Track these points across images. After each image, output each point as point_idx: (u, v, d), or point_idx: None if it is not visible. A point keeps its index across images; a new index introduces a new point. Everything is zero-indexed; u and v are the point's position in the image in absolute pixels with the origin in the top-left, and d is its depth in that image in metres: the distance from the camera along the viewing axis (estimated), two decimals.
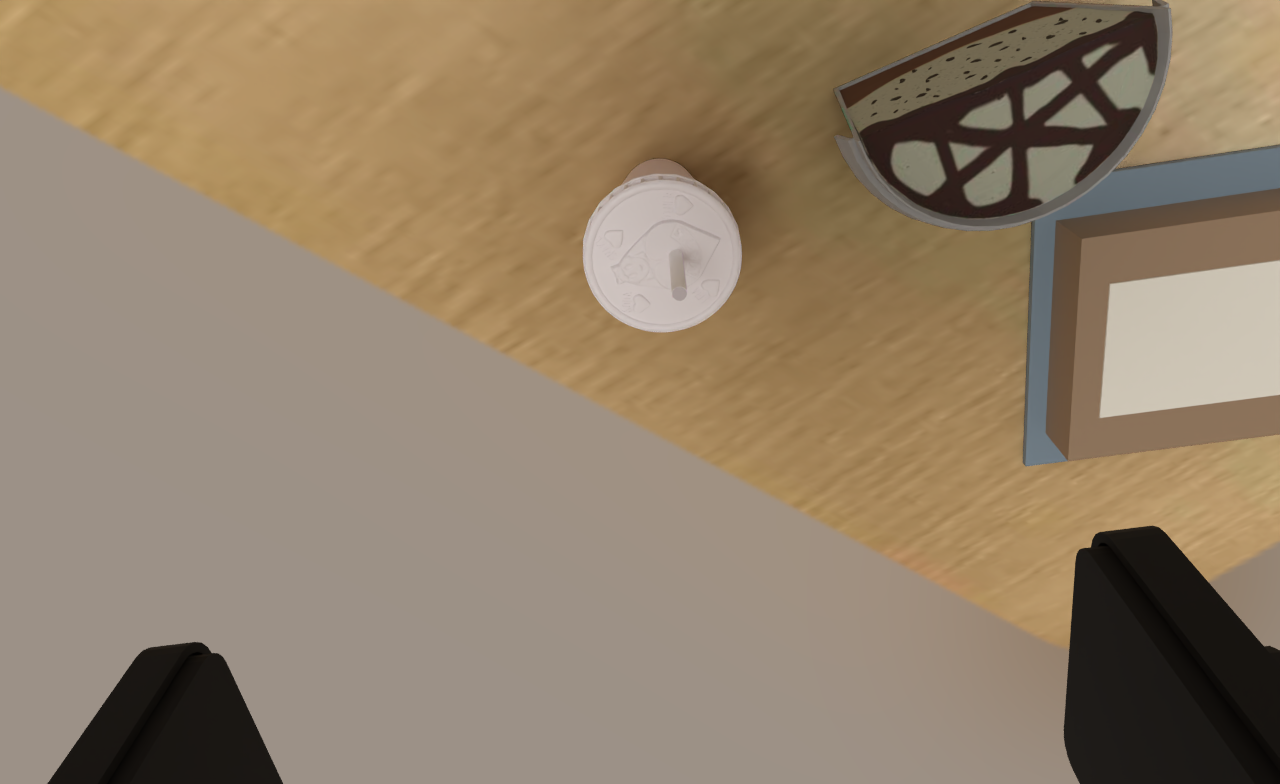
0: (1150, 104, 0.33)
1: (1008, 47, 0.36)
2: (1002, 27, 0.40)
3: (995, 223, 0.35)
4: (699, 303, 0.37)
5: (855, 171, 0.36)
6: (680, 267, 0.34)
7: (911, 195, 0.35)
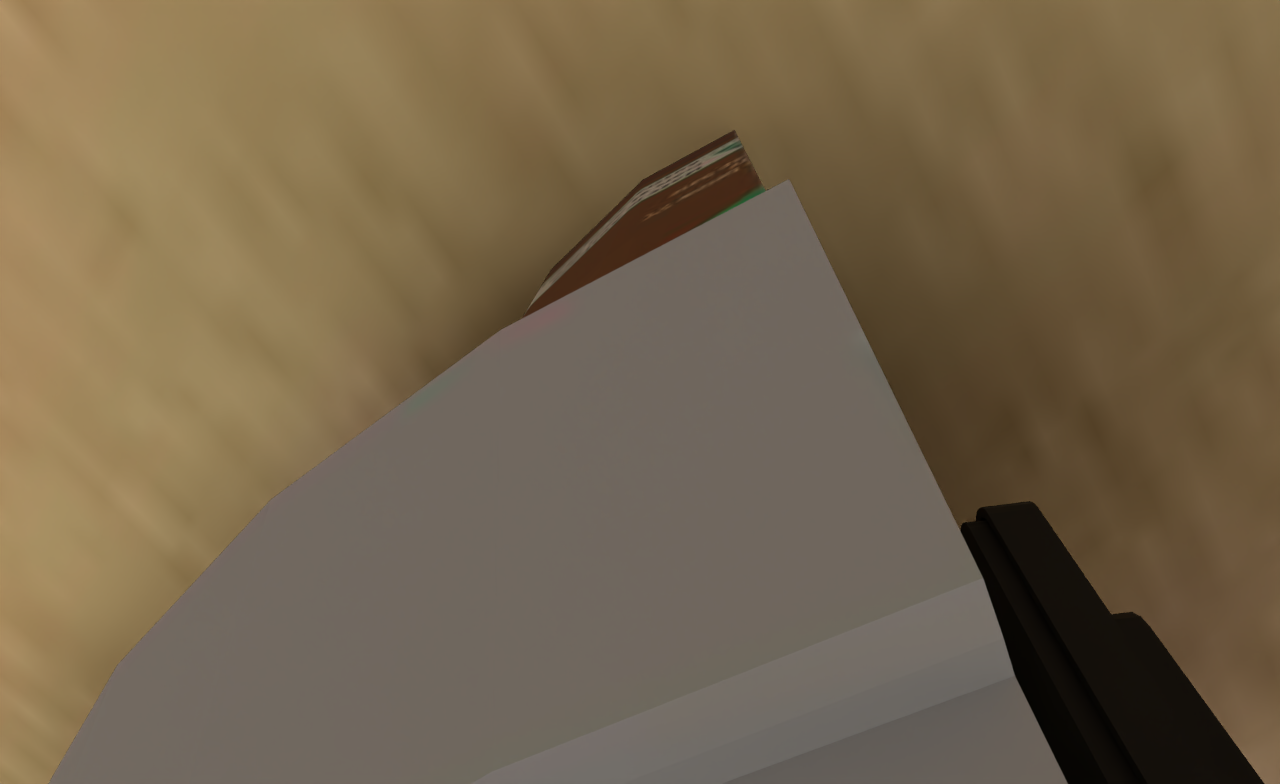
0: None
1: None
2: None
3: None
4: None
5: (325, 533, 0.03)
6: None
7: None
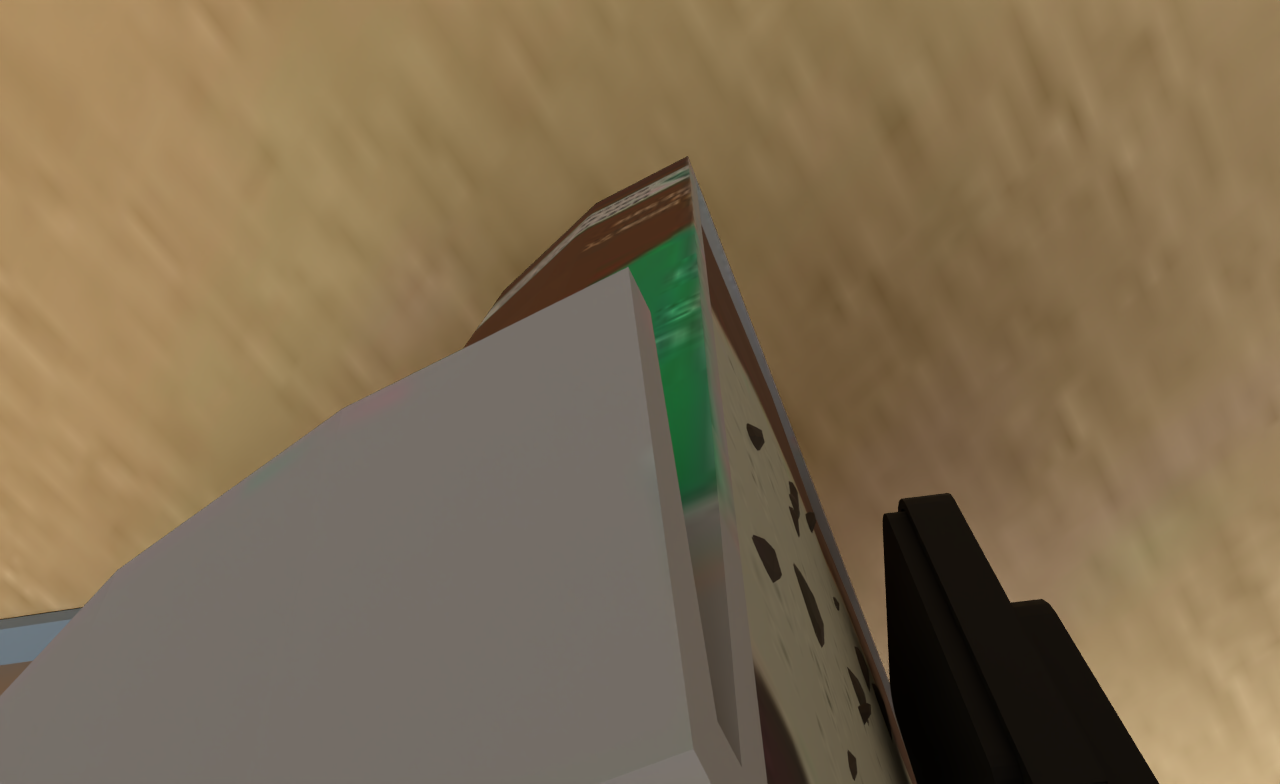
0: None
1: None
2: (896, 735, 0.11)
3: None
4: None
5: (152, 617, 0.02)
6: None
7: None
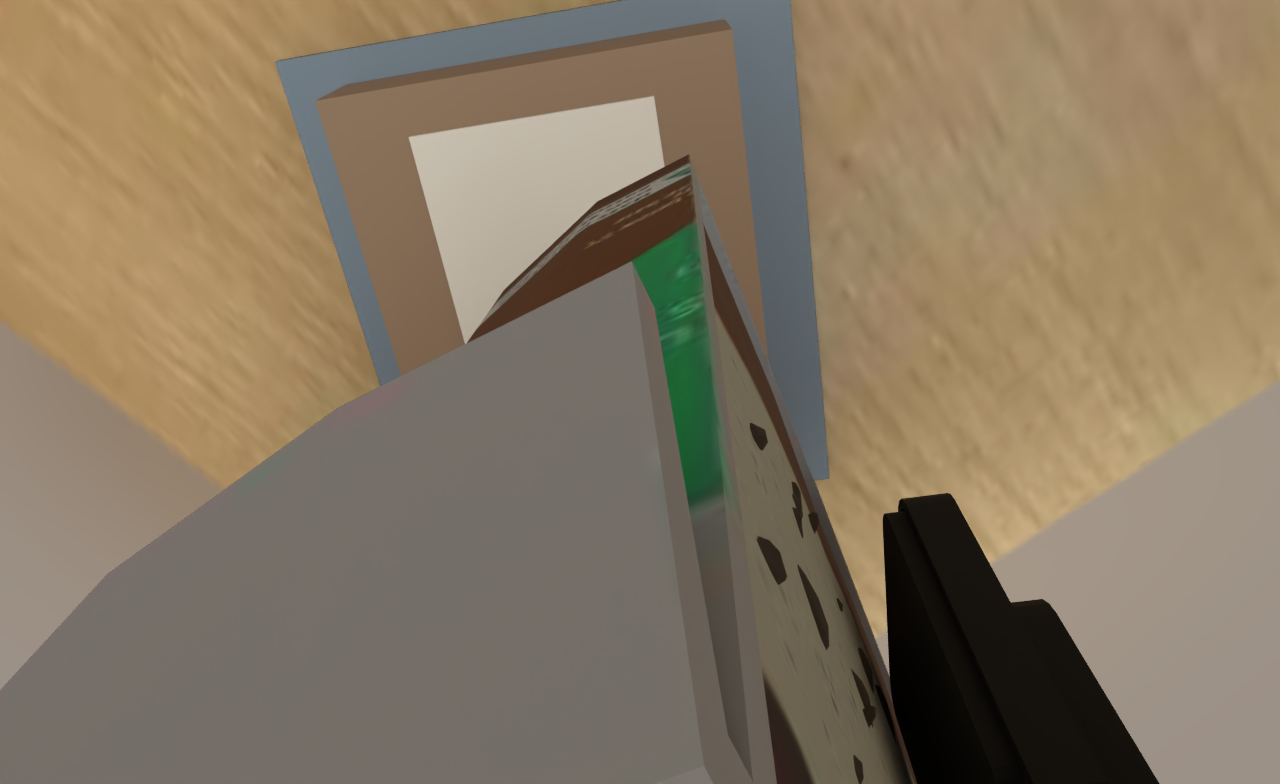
0: None
1: None
2: (899, 736, 0.11)
3: None
4: None
5: (141, 623, 0.02)
6: None
7: None
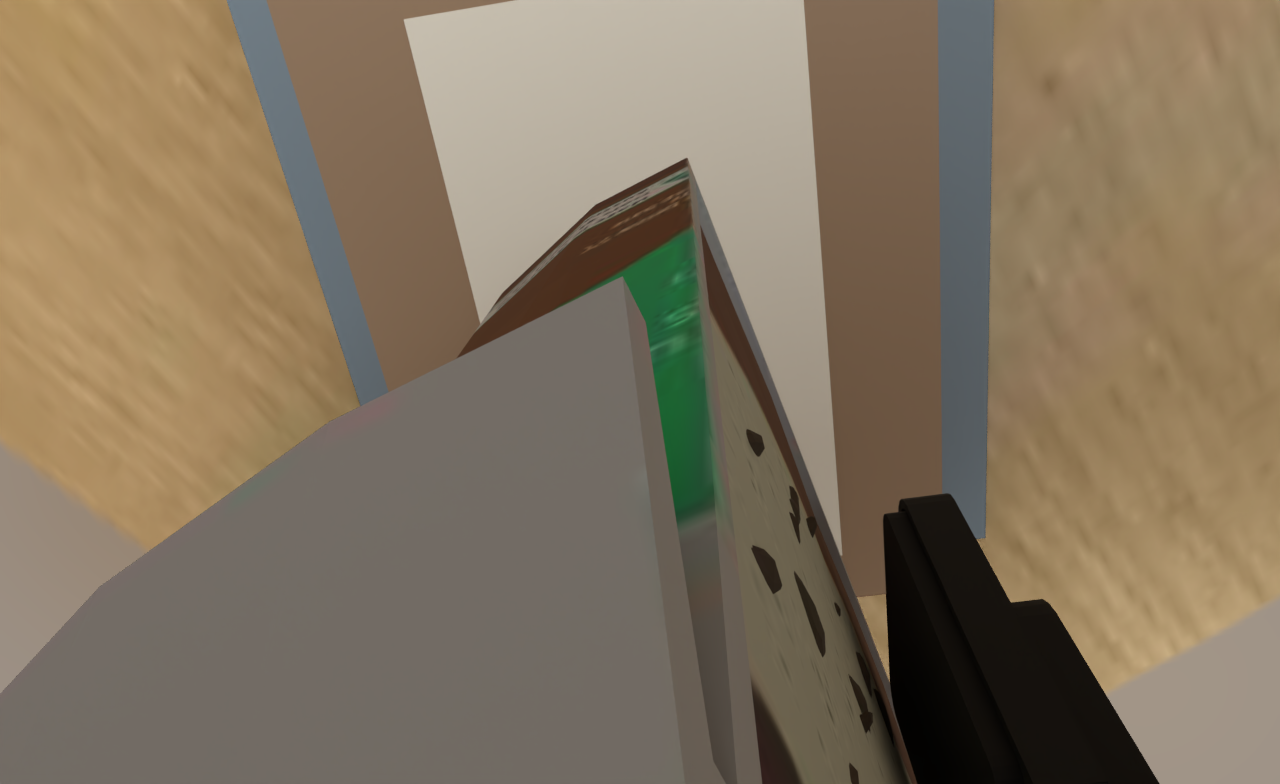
0: None
1: None
2: (897, 740, 0.11)
3: None
4: None
5: (130, 639, 0.02)
6: None
7: None
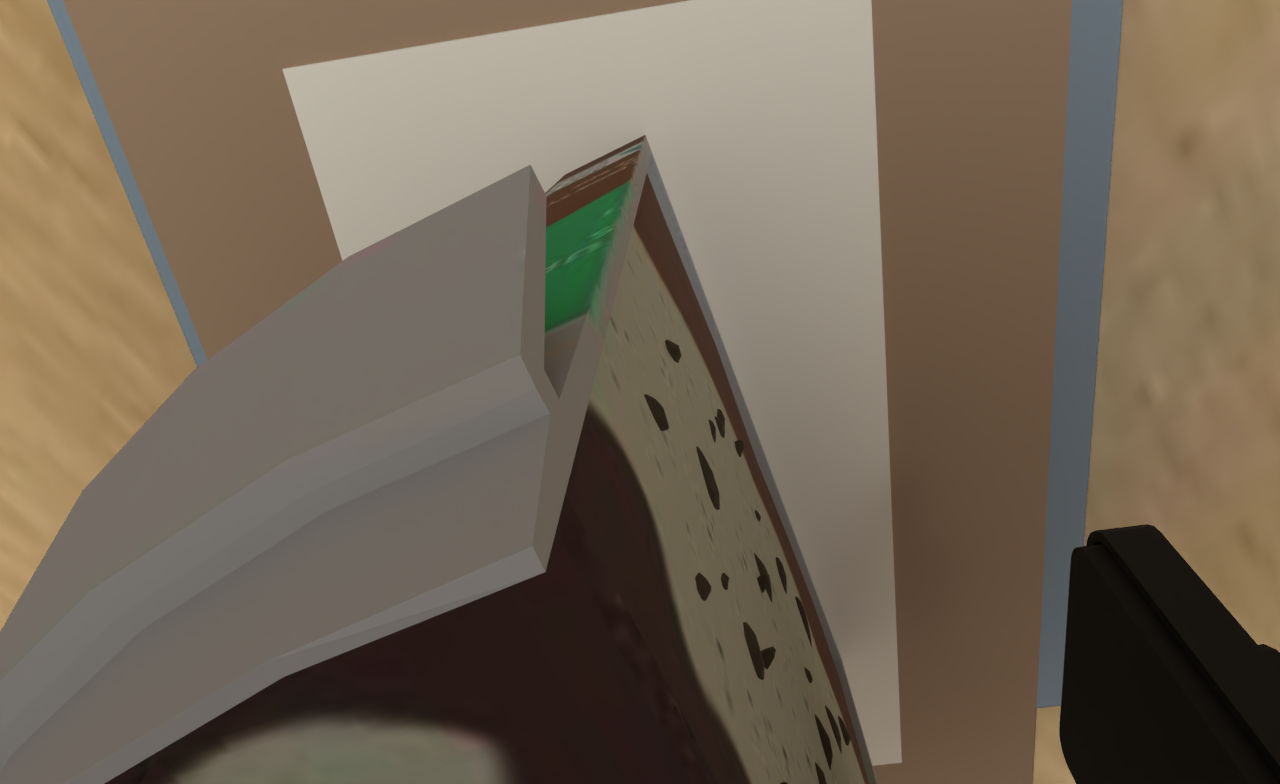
0: None
1: None
2: (823, 653, 0.13)
3: None
4: None
5: (224, 380, 0.04)
6: None
7: None
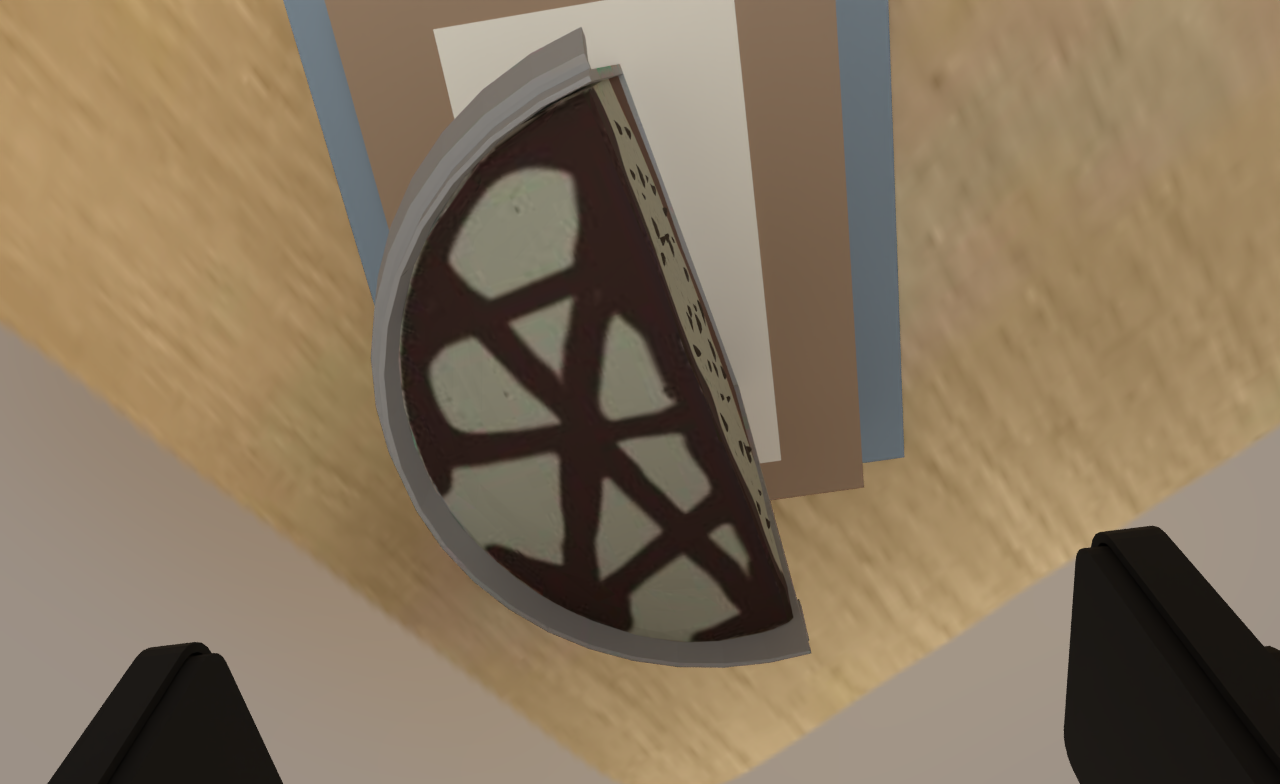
0: (641, 648, 0.18)
1: (717, 376, 0.20)
2: (718, 351, 0.24)
3: (393, 415, 0.16)
4: None
5: (499, 84, 0.15)
6: None
7: (448, 223, 0.15)
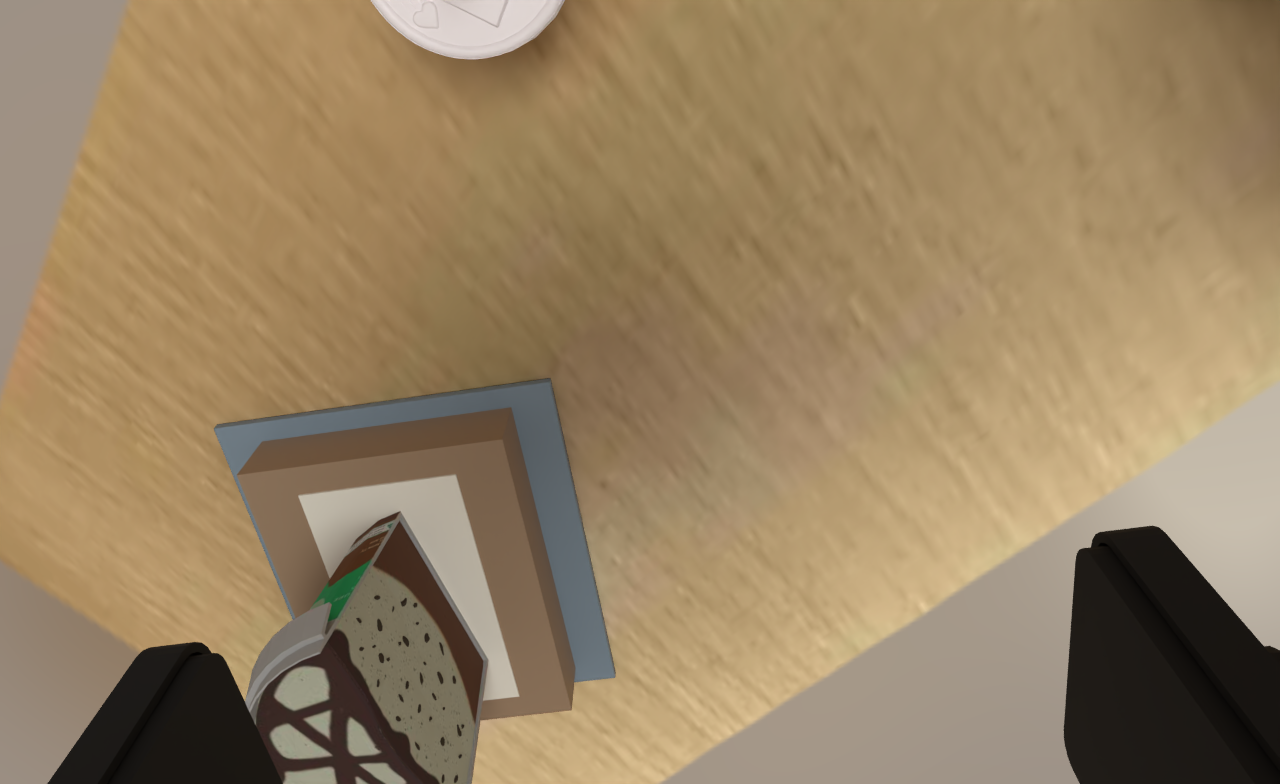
0: None
1: (434, 701, 0.39)
2: (461, 657, 0.42)
3: None
4: None
5: (293, 626, 0.33)
6: None
7: (272, 685, 0.34)
